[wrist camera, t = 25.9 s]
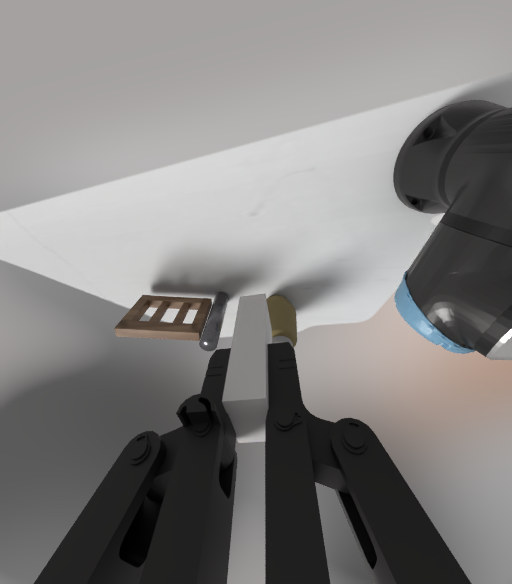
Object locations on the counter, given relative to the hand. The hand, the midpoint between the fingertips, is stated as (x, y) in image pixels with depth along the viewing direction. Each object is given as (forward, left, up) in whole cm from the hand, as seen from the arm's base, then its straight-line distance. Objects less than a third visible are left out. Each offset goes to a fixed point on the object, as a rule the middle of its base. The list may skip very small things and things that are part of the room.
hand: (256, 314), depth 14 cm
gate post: (+12, +18, -32) cm, 39 cm away
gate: (+21, +16, -30) cm, 40 cm away
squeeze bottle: (0, +22, -33) cm, 39 cm away
